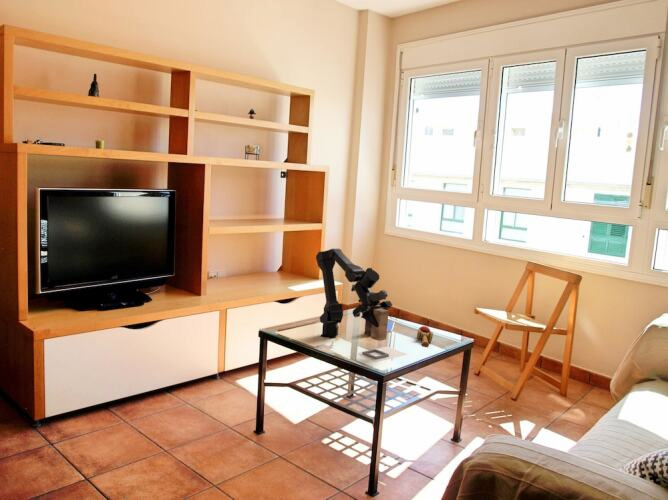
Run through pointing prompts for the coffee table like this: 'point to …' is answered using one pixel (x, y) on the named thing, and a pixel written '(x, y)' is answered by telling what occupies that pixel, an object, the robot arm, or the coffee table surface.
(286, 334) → the coffee table surface
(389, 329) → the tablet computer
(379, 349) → the plate
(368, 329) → the box
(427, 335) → the kendama
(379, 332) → the pillar
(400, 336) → the coffee table surface
